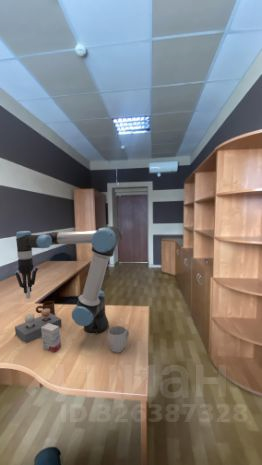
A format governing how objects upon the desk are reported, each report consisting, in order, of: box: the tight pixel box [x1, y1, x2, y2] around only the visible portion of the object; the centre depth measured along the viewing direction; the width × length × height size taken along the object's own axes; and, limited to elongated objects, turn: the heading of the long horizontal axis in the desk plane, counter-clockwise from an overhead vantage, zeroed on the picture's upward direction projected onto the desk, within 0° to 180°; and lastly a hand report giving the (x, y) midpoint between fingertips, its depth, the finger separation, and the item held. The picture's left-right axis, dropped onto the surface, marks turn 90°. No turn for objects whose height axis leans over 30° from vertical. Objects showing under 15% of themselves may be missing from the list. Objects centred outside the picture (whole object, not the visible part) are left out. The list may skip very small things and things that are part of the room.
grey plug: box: [24, 314, 36, 329], centre depth 126 cm, size 5×5×8 cm
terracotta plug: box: [41, 308, 50, 322], centre depth 134 cm, size 5×5×8 cm
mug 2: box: [107, 325, 130, 353], centre depth 112 cm, size 13×9×10 cm
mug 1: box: [35, 300, 56, 316], centre depth 147 cm, size 12×8×9 cm, turn 124°
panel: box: [14, 313, 63, 344], centre depth 130 cm, size 14×22×5 cm, turn 139°
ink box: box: [41, 323, 62, 353], centre depth 113 cm, size 9×5×12 cm, turn 62°
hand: (28, 297), depth 125 cm, fingers closed
